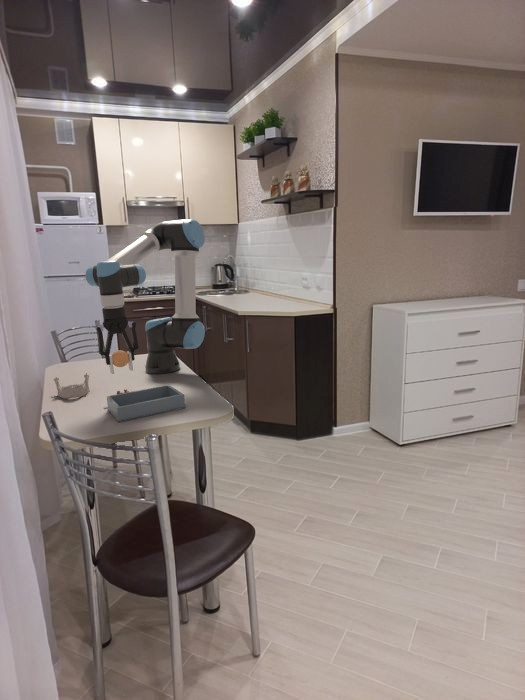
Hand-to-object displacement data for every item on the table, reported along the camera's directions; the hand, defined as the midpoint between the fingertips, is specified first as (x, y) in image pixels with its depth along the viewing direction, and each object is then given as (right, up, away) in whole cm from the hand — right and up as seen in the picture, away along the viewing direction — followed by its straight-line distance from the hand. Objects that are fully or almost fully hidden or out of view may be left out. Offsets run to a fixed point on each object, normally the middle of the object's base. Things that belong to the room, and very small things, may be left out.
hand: (121, 371), depth 162 cm
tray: (+11, -12, -8) cm, 18 cm away
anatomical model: (-22, -10, +11) cm, 26 cm away
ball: (0, +2, 0) cm, 2 cm away
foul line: (+6, -11, 0) cm, 12 cm away
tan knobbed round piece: (0, -11, +2) cm, 11 cm away
